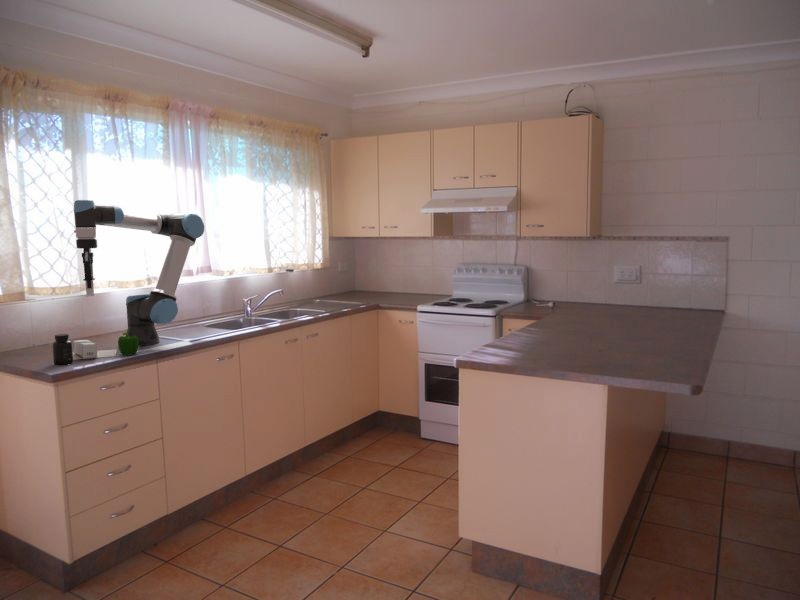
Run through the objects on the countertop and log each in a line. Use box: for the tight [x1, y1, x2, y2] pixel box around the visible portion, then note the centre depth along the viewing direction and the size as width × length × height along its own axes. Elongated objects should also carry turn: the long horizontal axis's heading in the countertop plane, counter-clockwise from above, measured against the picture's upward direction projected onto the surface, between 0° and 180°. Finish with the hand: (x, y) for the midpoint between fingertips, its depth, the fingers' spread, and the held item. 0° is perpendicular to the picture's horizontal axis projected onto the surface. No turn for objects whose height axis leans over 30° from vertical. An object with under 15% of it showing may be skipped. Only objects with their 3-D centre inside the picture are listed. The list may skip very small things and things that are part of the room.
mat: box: [73, 349, 118, 361], centre depth 258 cm, size 18×15×1 cm
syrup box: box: [72, 339, 98, 359], centre depth 254 cm, size 6×6×14 cm
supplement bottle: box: [52, 333, 74, 366], centre depth 241 cm, size 7×7×12 cm
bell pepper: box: [117, 331, 140, 357], centre depth 258 cm, size 8×8×10 cm
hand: (90, 296), depth 248 cm, fingers closed
